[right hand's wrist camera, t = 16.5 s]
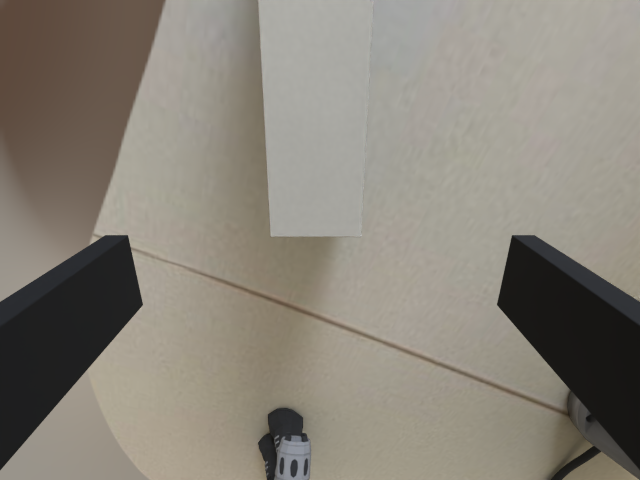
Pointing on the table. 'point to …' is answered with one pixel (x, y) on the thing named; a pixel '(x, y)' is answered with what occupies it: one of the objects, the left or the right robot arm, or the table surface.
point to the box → (315, 113)
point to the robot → (286, 447)
